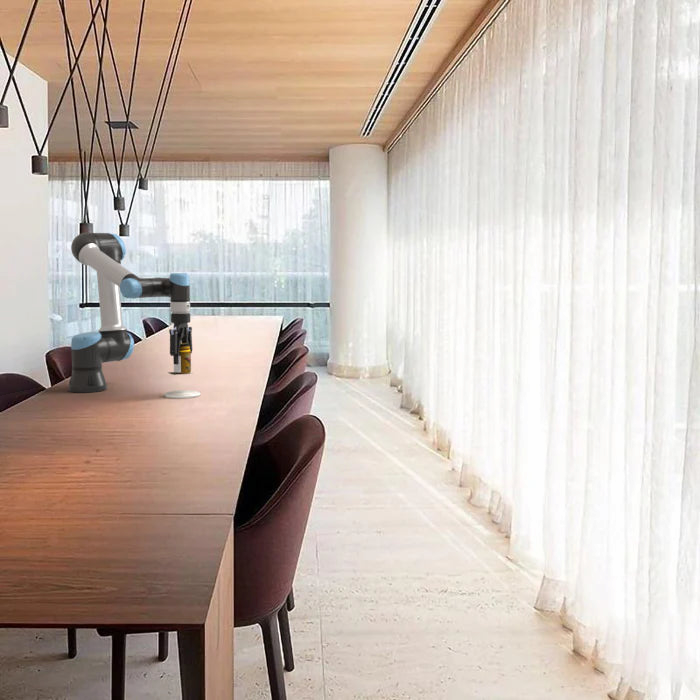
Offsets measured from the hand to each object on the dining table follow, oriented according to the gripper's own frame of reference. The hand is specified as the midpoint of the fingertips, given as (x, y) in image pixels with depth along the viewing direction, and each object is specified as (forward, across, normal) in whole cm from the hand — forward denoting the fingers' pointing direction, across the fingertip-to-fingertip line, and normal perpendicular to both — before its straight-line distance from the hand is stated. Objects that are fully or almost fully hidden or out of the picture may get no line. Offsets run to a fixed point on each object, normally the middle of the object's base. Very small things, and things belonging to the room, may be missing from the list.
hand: (181, 371), depth 309 cm
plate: (+10, 0, 0) cm, 10 cm away
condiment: (+1, -1, 0) cm, 1 cm away
